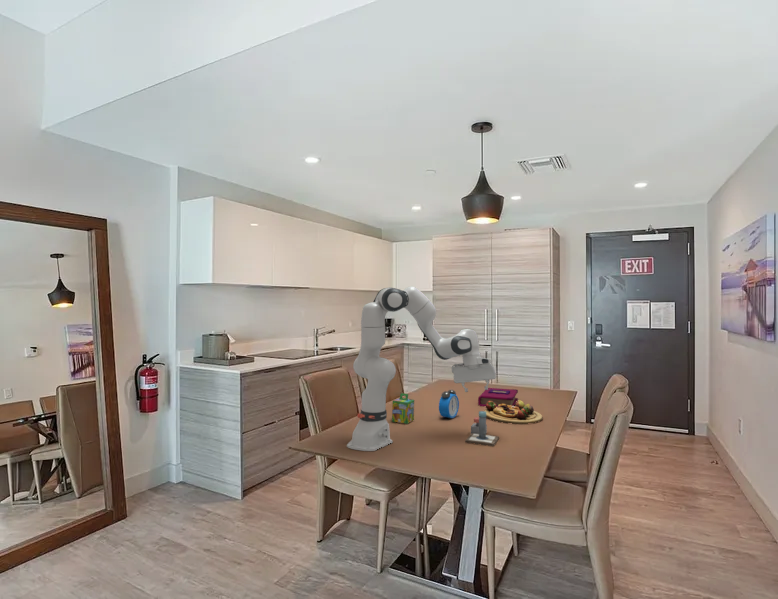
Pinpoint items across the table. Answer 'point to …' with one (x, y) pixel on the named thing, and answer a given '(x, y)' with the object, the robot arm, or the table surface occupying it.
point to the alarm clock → (448, 404)
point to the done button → (476, 421)
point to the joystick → (482, 424)
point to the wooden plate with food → (512, 413)
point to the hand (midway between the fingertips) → (476, 390)
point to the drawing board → (488, 440)
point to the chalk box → (403, 409)
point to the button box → (476, 429)
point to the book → (498, 396)
